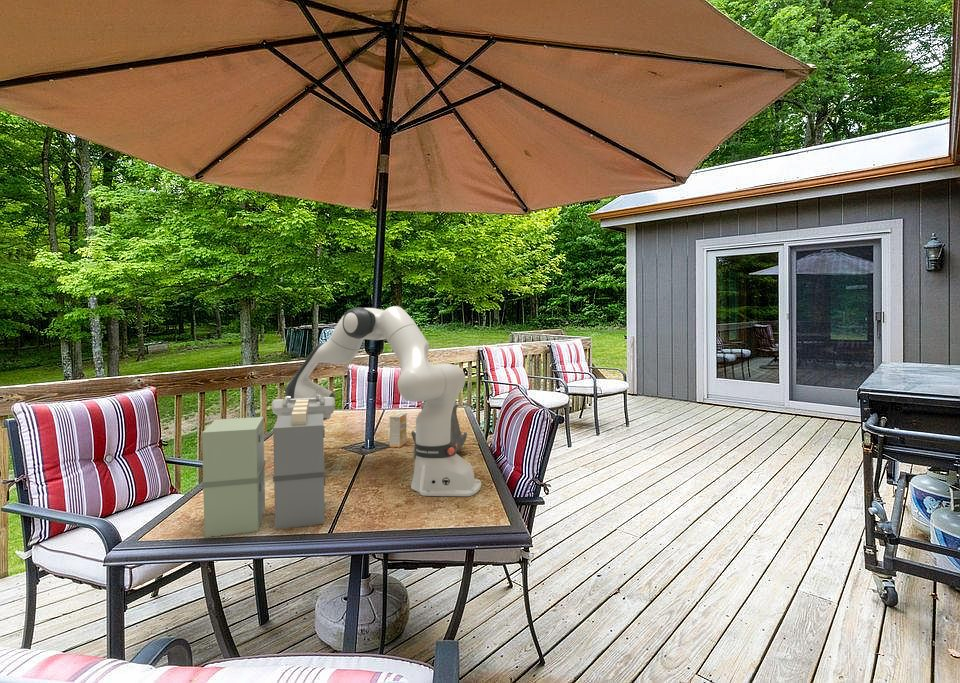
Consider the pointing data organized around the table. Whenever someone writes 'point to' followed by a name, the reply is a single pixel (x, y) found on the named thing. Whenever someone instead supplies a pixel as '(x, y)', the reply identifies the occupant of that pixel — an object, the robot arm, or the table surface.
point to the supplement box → (398, 430)
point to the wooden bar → (300, 412)
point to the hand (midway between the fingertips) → (303, 397)
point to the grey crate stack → (299, 472)
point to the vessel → (451, 429)
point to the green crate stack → (233, 476)
